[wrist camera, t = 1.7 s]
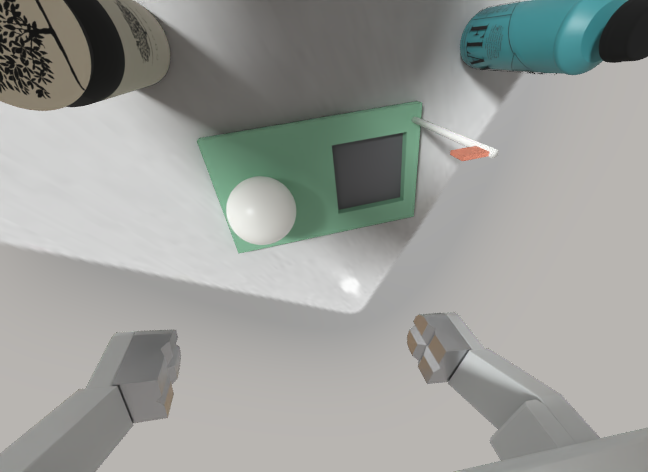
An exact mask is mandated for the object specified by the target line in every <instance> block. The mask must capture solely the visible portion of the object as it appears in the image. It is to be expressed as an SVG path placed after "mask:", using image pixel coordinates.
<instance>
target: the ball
mask: <svg viewBox="0 0 648 472" xmlns="http://www.w3.org/2000/svg"><path fill="white" fill-rule="evenodd" d="M226 214H227V219H228V222H229V225H230V226H231V228H232V230H233V231H234V232H235V233H236V234H237V235H238V236H239V237H240V238H241V239H243V240H244V241H246V242H249V243H252V244H256V245H268V244H272V243H275V242H277V241H279V240H281V239H282V238H284V237H285V236H286V235H287V234H288V233H289V232H290V230H291V229H292V227H293V225H294V222H295V219H296V204H295V200H294V198H293V196H292V194H291V192H290V191H289V190H288V188H287V187H286V186H285V185H283V184H282V183H281V182H279V181H277V180H275V179H273V178H270V177H265V176H256V177H251V178H248V179H246V180H244V181H242V182H240V183H239V184H238V185H237V186H236V187H235V188H234V189H233V190H232V192H231V193H230V196H229V198H228V201H227V206H226Z"/></svg>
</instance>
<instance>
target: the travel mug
mask: <svg viewBox="0 0 648 472" xmlns="http://www.w3.org/2000/svg"><path fill="white" fill-rule="evenodd" d="M169 64H170V48H169V44H168V40H167V38H166V35H165V33H164V31H163V29H162V27H161V26H160V24H159V23H158V21H157V20H156V19H155V18H154V16H153V15H152V14H151V13H150V12H149V11H148V10H146V9H145V8H144V7H143V6H141V5H140V4H138V3H137V2H135V1H133V0H0V101H2V102H4V103H7V104H10V105H13V106H16V107H20V108H24V109H29V110H38V111H48V110H56V109H60V108H63V107H79V106H85V105H89V104H92V103H95V102H99V101H102V100H105V99H108V98H112V97H115V96H118V95H121V94H125V93H128V92H131V91H134V90H138V89H141V88H144V87H147V86H150V85H153V84H155V83H157V82H159V81H160V80H161V79H162V78H163V77H164V76H165V74H166V73H167V71H168V68H169Z"/></svg>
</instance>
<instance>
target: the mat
mask: <svg viewBox="0 0 648 472" xmlns="http://www.w3.org/2000/svg"><path fill="white" fill-rule="evenodd" d="M421 113H422V103H421V102H418V101H415V102H409V103H403V104H397V105H392V106H386V107H380V108H374V109H368V110H362V111H356V112H350V113H344V114H339V115H333V116H327V117H321V118H315V119H309V120H303V121H297V122H291V123H286V124H280V125H274V126H268V127H262V128H256V129H250V130H244V131H239V132H233V133H227V134H221V135H215V136H209V137H203V138H199V139H198V140H197V143H198V146H199V148H200V151H201V154H202V156H203V159H204V162H205V164H206V167H207V170H208V172H209V175H210V178H211V180H212V183H213V186H214V188H215V191H216V194H217V197H218V199H219V202H220V205H221V207H222V210H223V213H224V215H225V218H226V221H227V223H228V226H229V229H230V231H231V234H232V237H233V239H234V242H235V245H236V247H237V250H238V253H243V252H248V251H253V250H258V249H262V248H267V247H272V246H276V245H281V244H286V243H291V242H295V241H300V240H305V239H309V238H314V237H319V236H324V235H328V234H333V233H338V232H343V231H347V230H352V229H357V228H361V227H366V226H371V225H376V224H380V223H385V222H390V221H394V220H399V219H404V218H409V217H413V216H414V205H415V191H416V178H417V165H418V152H419V139H420V126H422V127H424V128H426V129H429V130H431V131H433V132H435V133H437V134H440V135H442V136H444V137H446V138H448V139H451V140H453V141H455V142H457V143H460V144H462V145H464V146H466V147H467V148H462V149H457V150H451V153H450V155H452V156H454V157H456V158H457V159H459V160H461V161H466V160H471V159H476V158H481V157H486V156H488V157H491V158H495V157H496V156H497V155H498V150H497V149H494V148H492V147H489V146H487V145H484V144H482V143H479V142H477V141H474V140H472V139H470V138H467V137H465V136H462V135H460V134H457V133H455V132H452V131H450V130H447V129H445V128H442V127H440V126H438V125H435V124H433V123H430V122H428V121H425V120H423V119H421ZM256 176H265V177H270V178H273V179H275V180H277V181H279V182H281V183H282V184H283V185H285V186H286V187H287V188H288V190H289V191H290V192H291V194H292V196H293V198H294V200H295V204H296V219H295V222H294V225H293V227H292V229H291V230H290V232H289V233H288V234H287V235H286V236H285V237H284V238H282V239H281V240H279V241H277V242H275V243H272V244H268V245H256V244H252V243H249V242H246V241H244V240H243V239H241V238H240V237H239V236H238V235H237V234H236V233H235V232H234V231H233V230H232V228H231V226H230V225H229V222H228V219H227V214H226V206H227V201H228V198H229V196H230V193H231V192H232V190H233V189H234V188H235V187H236V186H237V185H238V184H239V183H240V182H242V181H244V180H246V179H248V178H251V177H256Z"/></svg>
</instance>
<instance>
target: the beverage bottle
mask: <svg viewBox="0 0 648 472" xmlns="http://www.w3.org/2000/svg"><path fill="white" fill-rule="evenodd" d="M460 52H461V56H462V58H463V60H464V62H465V63H466V64H468V65H469V67H470V66H471V67H472V68H473V67H474V68H481V69H479V70H487V69H497V71H498V69H499V71H500V70H501V71H502V70H512V72H514V71H517V72H518V71H522V72H523V71H528V72H529V73H530V72H532V73H534V72H541V74H542V73H556V74H557V73H565V74H568V75H578V74H582V73H585V72H587V71H589V70H591V69H593V68H594V67H596V66H597V65H599V64H600V63H601V62H602V61H605V62H614V63H615V62H622V61H636V60H640V59H643V58H646V57H647V56H648V0H532V1H524V2H520V1H518V3H514V2H513V3H512V4H508V3H507V5H503V4H502V5H501V6H497V5H496V6H495V7H492V6H491V7H490V8H486V9H484V10H482V11H481V12H480V11H479V13H478V14H476V15H475V16H474V17H473V18H472V19H471V20H470V21H469V23H468V24H467V26H466V28H465V29H464V32H463V34H462V37H461V42H460ZM491 71H492V70H491ZM493 71H496V70H493ZM520 73H521V72H520ZM534 74H535V73H534Z"/></svg>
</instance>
